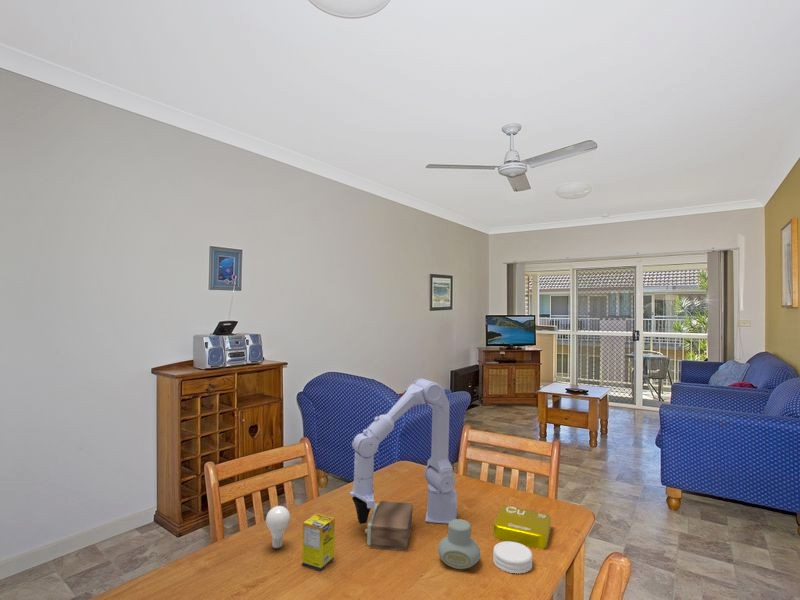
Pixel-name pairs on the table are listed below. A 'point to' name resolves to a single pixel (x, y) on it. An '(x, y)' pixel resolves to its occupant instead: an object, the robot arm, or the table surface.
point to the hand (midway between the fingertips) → (362, 522)
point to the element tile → (522, 527)
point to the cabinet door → (371, 524)
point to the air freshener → (459, 546)
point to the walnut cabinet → (391, 526)
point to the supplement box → (318, 541)
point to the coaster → (512, 557)
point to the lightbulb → (277, 524)
